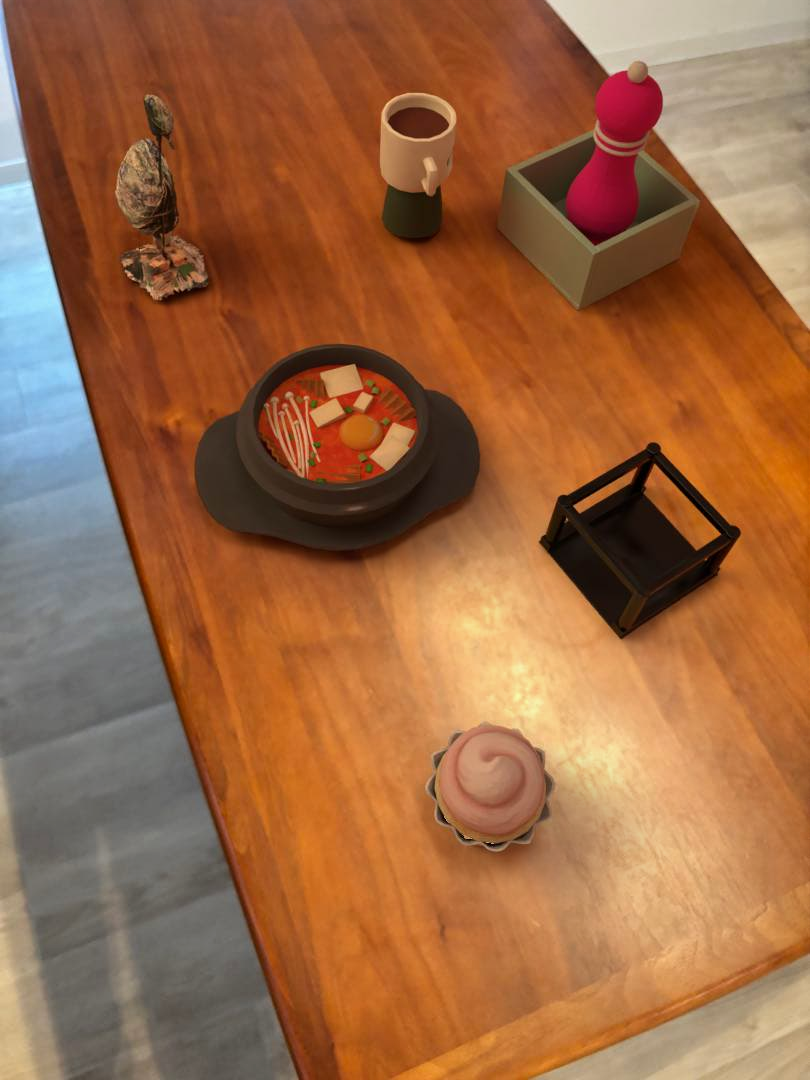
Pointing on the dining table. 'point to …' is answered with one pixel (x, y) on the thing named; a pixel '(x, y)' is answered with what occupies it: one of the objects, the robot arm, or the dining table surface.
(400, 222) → the character mug
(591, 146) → the open square box
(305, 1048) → the dining table surface
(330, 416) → the casserole
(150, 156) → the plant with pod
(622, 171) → the pepper mill
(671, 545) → the black open frame holder
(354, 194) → the dining table surface
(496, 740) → the cupcake
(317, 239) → the dining table surface
